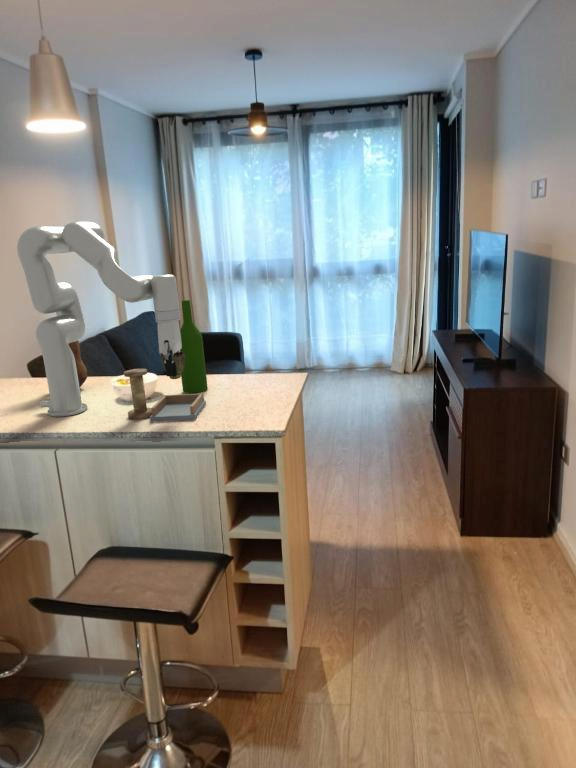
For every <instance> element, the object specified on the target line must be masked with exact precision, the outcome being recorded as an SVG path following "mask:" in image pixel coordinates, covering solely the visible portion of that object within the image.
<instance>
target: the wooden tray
mask: <svg viewBox="0 0 576 768" xmlns="http://www.w3.org/2000/svg"><path fill="white" fill-rule="evenodd" d="M204 395H205V394H204V392H202V393H197V394H186V393H183V394H168V395H167V394H164V395H163V396H162V397H161V398H160V399H158V401H157V402H156V403H155V404H154V405H153V406H152V407H150V408H151V410H152V415H151V416H150V417H149V422H150V423H151V422H152V423H154V422H153V421H158V422H174V421H175V422H176V421H177V420H180V421H194V420H193V419H196V420H197V418H198V417H199V416H200V414H201V413H202V412H203V410H204V409H205V407H206V406H207V402H206V400H205V396H204ZM205 405H206V406H205ZM204 406H205V407H204ZM203 408H204V409H203ZM202 409H203V410H202ZM200 412H201V413H200ZM199 413H200V414H199ZM198 415H199V416H198ZM197 416H198V417H197ZM177 422H178V421H177Z"/></svg>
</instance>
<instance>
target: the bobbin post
mask: <svg viewBox="0 0 576 768" xmlns="http://www.w3.org/2000/svg"><path fill="white" fill-rule="evenodd" d="M147 374H148V369H147V368H133V369H129V370H124V372H123V377H125V378H126V377H127V378H129V383H130V390H131V391H130V392H131V399H132V405H133V409H131V410H129V411H127V418H128V420H129V419H130V420H134V421H138V420H144V419H150V416H151V415H152V410H151V408H152V407H148V406H147V399H146V391H145V385H144V383H145V382H144V376H146V375H147Z"/></svg>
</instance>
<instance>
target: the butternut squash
mask: <svg viewBox="0 0 576 768" xmlns="http://www.w3.org/2000/svg"><path fill="white" fill-rule="evenodd" d="M68 345H69V347H70V349H71V350H72V352H73V354H74V358H75V363H76V369H77V375H78V381H79V388H80V389H81V387H82V386H83V385H84V383H85V382H86V380H87V378H88V370H87V367H86V365H85V364H84V361H83V360H82V356H81V346H80V340H78V341H75V342H72V343H69V344H68Z"/></svg>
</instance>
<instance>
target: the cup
mask: <svg viewBox="0 0 576 768" xmlns="http://www.w3.org/2000/svg"><path fill="white" fill-rule="evenodd" d="M169 353H171V352H169ZM159 355H160V361H161V364H162V367H163V369H164V370H163V371H164V372H165V373H166V369H165V362H164V355H161V354H160V353H159ZM171 358H172V356H171ZM174 363H176V370H177V375H176V376H168V378H169V379H170V380H171V379H172V380H177V379H180V378H181V372H182V371H183V370H184V366H185V353H184V352H182V351H181V352H180V353H178V352H177V354H176V353H175V354H174Z"/></svg>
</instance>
